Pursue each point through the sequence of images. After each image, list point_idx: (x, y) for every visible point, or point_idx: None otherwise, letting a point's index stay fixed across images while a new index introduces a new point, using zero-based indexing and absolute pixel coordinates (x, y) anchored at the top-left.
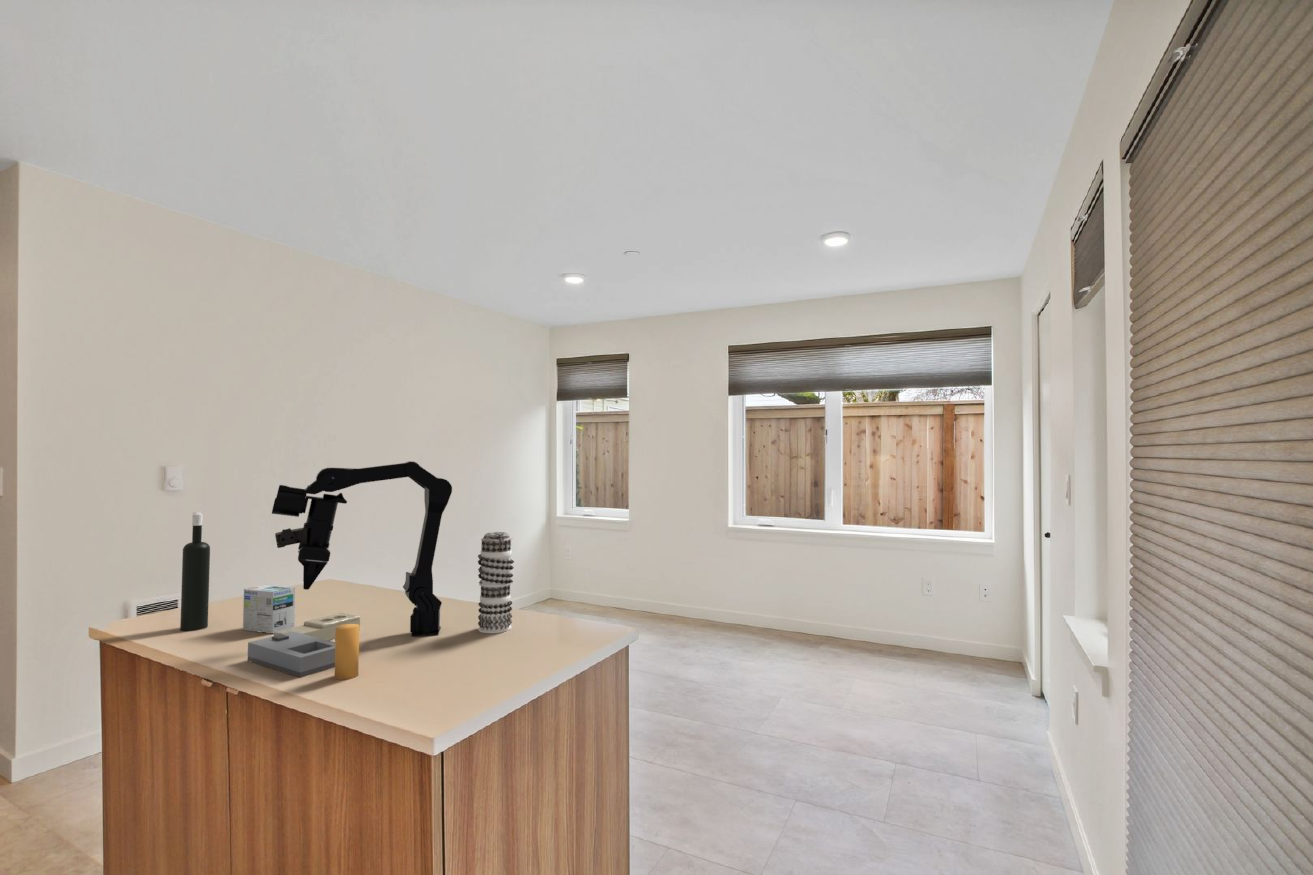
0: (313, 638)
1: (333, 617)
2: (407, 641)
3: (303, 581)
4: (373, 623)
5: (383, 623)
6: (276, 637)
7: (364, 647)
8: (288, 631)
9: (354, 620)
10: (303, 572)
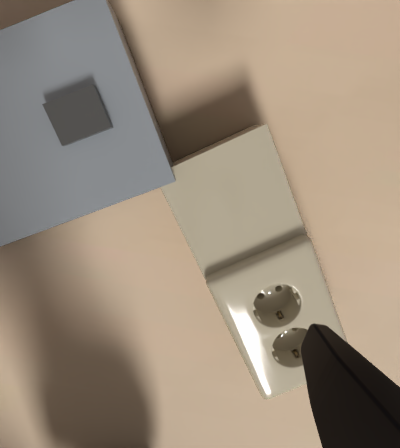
0: (22, 223)
1: None
2: (67, 434)
3: (314, 325)
4: None
5: (299, 427)
6: (68, 99)
7: (70, 340)
8: (238, 171)
9: (252, 377)
10: (360, 383)
